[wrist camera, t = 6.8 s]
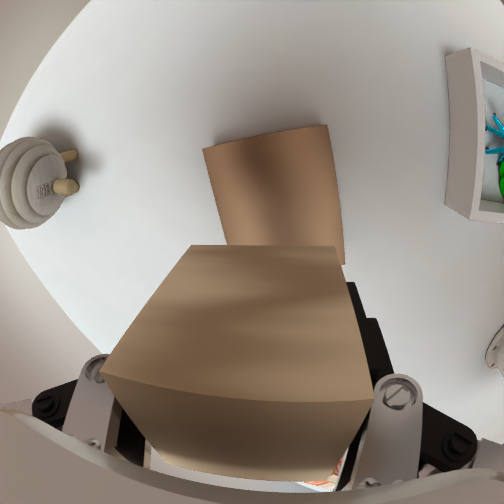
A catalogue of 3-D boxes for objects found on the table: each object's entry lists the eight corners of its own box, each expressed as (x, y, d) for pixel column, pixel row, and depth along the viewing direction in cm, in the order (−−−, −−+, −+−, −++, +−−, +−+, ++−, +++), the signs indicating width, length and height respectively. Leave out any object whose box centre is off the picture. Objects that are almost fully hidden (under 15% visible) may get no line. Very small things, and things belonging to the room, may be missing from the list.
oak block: (334, 246, 9) (374, 398, 4) (322, 351, 11) (326, 480, 6) (191, 245, 10) (99, 370, 4) (209, 346, 12) (167, 464, 6)
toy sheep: (23, 140, 25) (-36, 158, 15) (106, 120, 24) (29, 129, 14) (31, 210, 30) (-23, 239, 20) (112, 211, 28) (46, 253, 18)
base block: (321, 125, 22) (327, 124, 19) (338, 245, 27) (345, 264, 23) (215, 145, 24) (202, 148, 21) (243, 259, 29) (236, 278, 25)
